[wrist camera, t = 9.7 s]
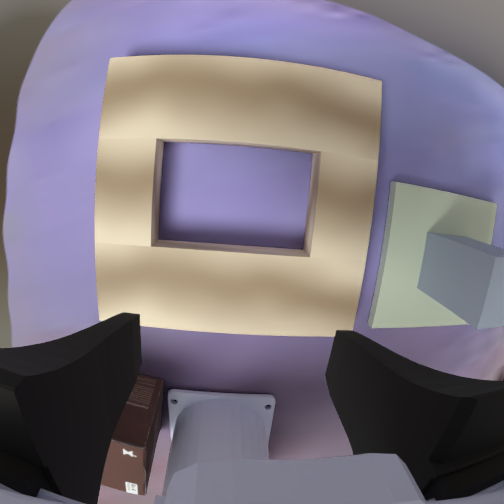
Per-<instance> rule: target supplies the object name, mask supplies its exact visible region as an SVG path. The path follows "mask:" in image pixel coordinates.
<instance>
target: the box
mask: <svg viewBox="0 0 504 504" xmlns="http://www.w3.org/2000/svg"><path fill="white" fill-rule="evenodd" d="M164 383H165V382H164V380H162V379H157V378H153V377H149V376H145V375H140V374H138V377H137V380H136V383H135V385H134V388H133V390H132V392H131V394H130V397H129V399H128V401H127V403H126V405H125V407H124V410H123V412H122V414H121V416H120V418H119V421H118V423H117V425H116V428H115V430H114V433H113V436H112V440H111V443H110V447H109V450H108V454H107V458H106V462H105V466H104V471H103V475H102V480H101V485H105V486H108V487H111V488H115V489H118V490H122V491H125V492H129V493H133V494H139V495H146V492H147V486H148V481H149V476H150V472H151V467H152V462H153V457H154V453H155V448H156V443H157V439H158V435H159V432H160V425H161V416H162V405H163V394H164Z"/></svg>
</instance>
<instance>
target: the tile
mask: <svg viewBox="0 0 504 504" xmlns="http://www.w3.org/2000/svg"><path fill="white" fill-rule="evenodd" d="M496 209H497V204H496V203H492V202H488V201H484V200H480V199H476V198H472V197H468V196H464V195H459V194H455V193H450V192H446V191H441V190H436V189H432V188H427V187H422V186H417V185H411V184H406V183H401V182H394V181H391V183H390V193H389V202H388V210H387V218H386V225H385V232H384V239H383V246H382V252H381V258H380V264H379V269H378V275H377V280H376V286H375V291H374V296H373V301H372V305H371V310H370V315H369V319H368V325H369V326H370V327H371V328H404V327H429V326H448V325H464V324H468V323H467V322H465V321H464V320H463V319H461V318H460V317H458V316H457V315H456V314H454V313H453V312H451V311H450V310H448V309H447V308H446V307H444V306H443V305H441V304H440V303H438V302H437V301H435V300H434V299H432V298H431V297H430V296H428V295H427V294H425V293H424V292H422V291H421V290H419V289H418V288H417V285H418V281H419V276H420V271H421V266H422V260H423V255H424V249H425V243H426V237H427V232H433V233H441V234H449V235H456V236H464V237H469V238H472V239H475V240H478V241H481V242H484V243H487V244H490V245H491V243H492V237H493V231H494V224H495V217H496Z"/></svg>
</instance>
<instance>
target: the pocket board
mask: <svg viewBox="0 0 504 504" xmlns="http://www.w3.org/2000/svg"><path fill="white" fill-rule="evenodd" d="M381 105H382V81H380V80H376V79H372V78H368V77H364V76H360V75H356V74H352V73H347V72H342V71H337V70H332V69H327V68H322V67H316V66H311V65H304V64H298V63H291V62H284V61H276V60H267V59H258V58H247V57H234V56H216V55H147V56H130V57H117V58H110V62H109V67H108V73H107V79H106V85H105V91H104V98H103V105H102V113H101V122H100V131H99V141H98V153H97V168H96V187H95V262H96V282H97V297H98V309H99V320H100V321H104V320H106V319H108V318H110V317H113V316H115V315H117V314H120V313H123V312H127V313H134V314H140V326H147V327H157V328H167V329H177V330H189V331H201V332H215V333H231V334H249V335H273V336H318V337H335V334H336V330H352V331H353V326H354V322H355V317H356V312H357V307H358V302H359V297H360V292H361V287H362V281H363V275H364V270H365V264H366V258H367V251H368V245H369V238H370V231H371V224H372V216H373V208H374V199H375V190H376V180H377V170H378V158H379V144H380V128H381ZM164 142H182V143H205V144H221V145H236V146H248V147H259V148H270V149H279V150H288V151H297V152H305V153H313V156H312V168H311V178H310V189H309V199H308V209H307V218H306V227H305V236H304V244H303V250H301V249H287V248H273V247H259V246H245V245H231V244H216V243H202V242H187V241H172V240H158V236H159V209H160V189H161V174H162V160H163V148H164Z"/></svg>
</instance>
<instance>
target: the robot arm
mask: <svg viewBox="0 0 504 504" xmlns="http://www.w3.org/2000/svg"><path fill="white" fill-rule="evenodd" d="M141 363H142V359H141V337H140V314H134V313H127V312H123V313H120V314H117V315H115V316H113V317H110V318H108V319H106V320H104V321H102V322H100V323H98V324H95V325H93V326H91V327H89V328H86V329H84V330H81V331H79V332H76V333H74V334H72V335H69V336H66V337H63V338H60V339H57V340H53V341H49V342H45V343H41V344H35V345H29V346H24V347H15V348H0V504H97V502H98V496H99V491H100V485H101V480H102V475H103V471H104V466H105V462H106V458H107V454H108V450H109V447H110V443H111V440H112V436H113V433H114V430H115V428H116V425H117V423H118V421H119V418H120V416H121V414H122V412H123V410H124V407H125V405H126V403H127V401H128V399H129V397H130V394H131V392H132V390H133V388H134V385H135V383H136V380H137V377H138V373H139V370H140V366H141ZM325 376H326V381H327V385H328V389H329V393H330V396H331V399H332V401H333V404H334V406H335V408H336V411H337V413H338V415H339V418H340V420H341V422H342V424H343V427H344V429H345V431H346V434H347V436H348V438H349V441H350V444H351V447H352V450H353V454H354V455H349V456H339V457H328V458H314V459H293V460H270V458H269V451H268V442H269V437H270V431H271V426H272V420H273V414H274V408H275V397H274V396H273V395H267V394H234V393H216V392H202V391H190V390H179V389H171V390H169V391H168V395H167V397H168V411H169V423H170V433H171V448H170V453H169V459H168V464H167V470H166V475H165V481H164V487H163V492H162V496H161V495H156V497H155V502H154V504H504V381H489V380H479V379H472V378H466V377H460V376H456V375H452V374H448V373H444V372H441V371H437V370H434V369H431V368H429V367H426V366H423V365H420V364H418V363H416V362H413V361H411V360H409V359H407V358H405V357H403V356H400V355H398V354H396V353H395V352H393V351H391V350H389V349H387V348H385V347H383V346H381V345H380V344H378V343H376V342H374V341H372V340H371V339H369V338H367V337H365V336H363V335H361V334H359V333H357V332H354V331H352V330H336V334H335V338H334V342H333V346H332V351H331V355H330V359H329V363H328V367H327V370H326V374H325ZM172 399H175V400H177V401H173V400H172ZM266 405H270V406H268V407H267V406H266Z"/></svg>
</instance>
